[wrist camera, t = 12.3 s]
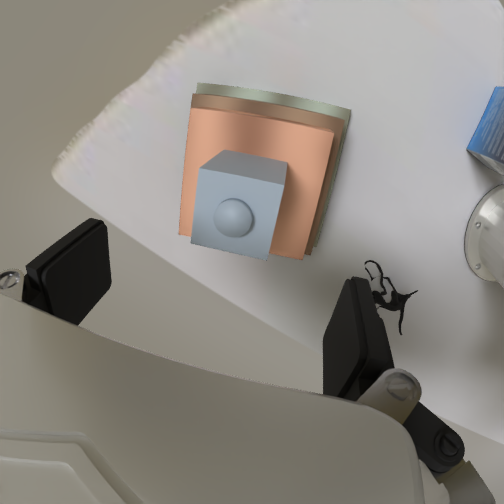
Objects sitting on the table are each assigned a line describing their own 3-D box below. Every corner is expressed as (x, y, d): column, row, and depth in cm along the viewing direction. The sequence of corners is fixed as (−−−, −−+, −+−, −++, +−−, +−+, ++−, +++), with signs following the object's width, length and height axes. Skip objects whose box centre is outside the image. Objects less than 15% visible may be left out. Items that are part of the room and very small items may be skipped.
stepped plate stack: (348, 109, 25) (368, 113, 18) (315, 241, 32) (319, 285, 25) (201, 83, 26) (168, 79, 19) (186, 215, 33) (156, 250, 26)
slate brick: (287, 162, 21) (283, 188, 15) (274, 220, 23) (265, 265, 17) (224, 149, 21) (195, 170, 15) (215, 207, 23) (187, 247, 17)
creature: (339, 308, 37) (399, 319, 35) (332, 336, 33) (400, 348, 30) (349, 252, 34) (416, 264, 31) (345, 276, 29) (422, 290, 27)
